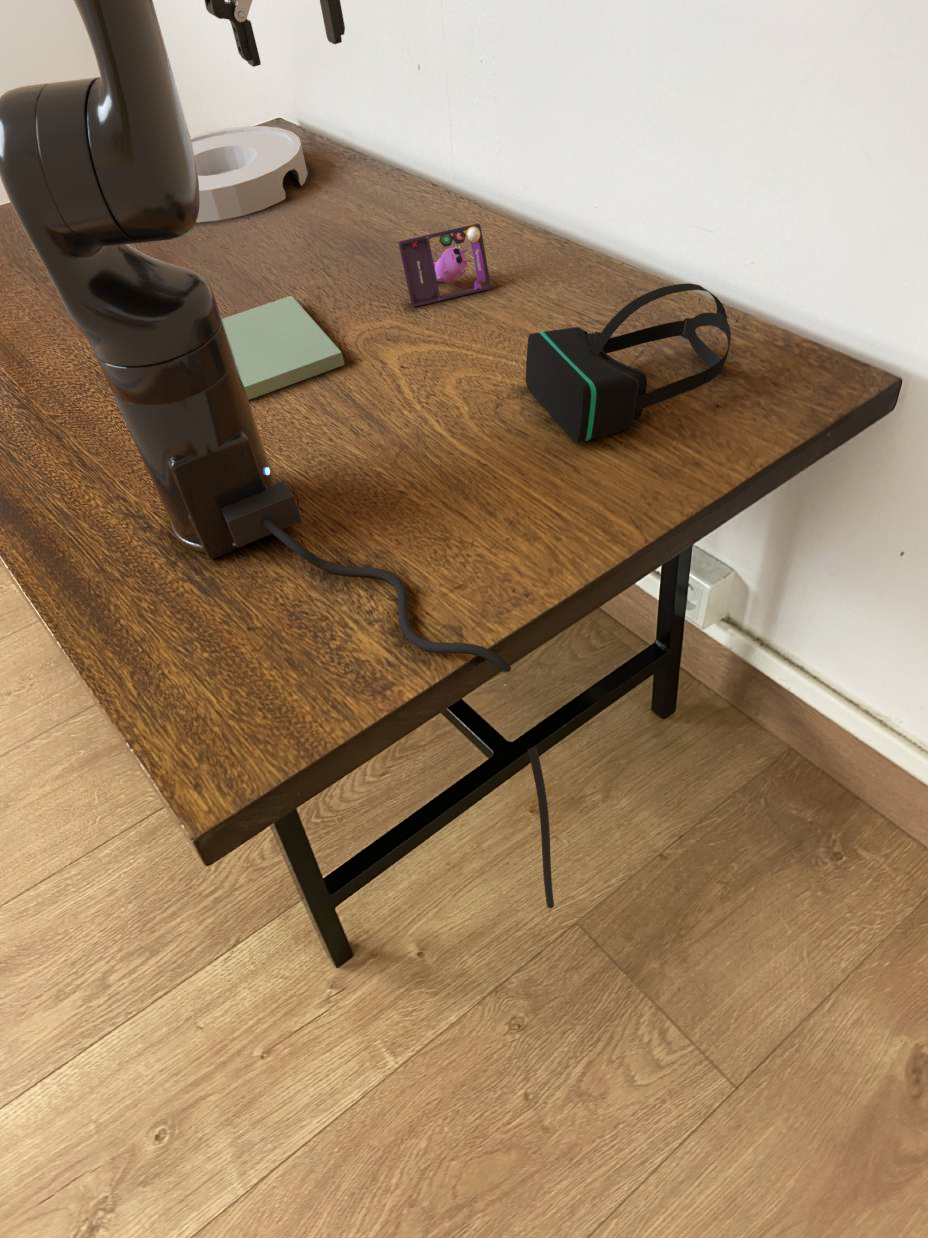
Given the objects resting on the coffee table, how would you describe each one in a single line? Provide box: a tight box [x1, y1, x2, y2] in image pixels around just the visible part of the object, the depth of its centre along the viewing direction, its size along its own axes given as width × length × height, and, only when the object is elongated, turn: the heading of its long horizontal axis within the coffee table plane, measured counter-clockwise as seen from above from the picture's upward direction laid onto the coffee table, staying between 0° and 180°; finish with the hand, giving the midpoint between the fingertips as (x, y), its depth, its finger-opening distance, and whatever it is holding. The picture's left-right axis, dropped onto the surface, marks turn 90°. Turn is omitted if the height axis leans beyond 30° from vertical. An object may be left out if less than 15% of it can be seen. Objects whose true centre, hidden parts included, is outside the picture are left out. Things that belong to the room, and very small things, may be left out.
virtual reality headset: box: [525, 282, 732, 444], centre depth 80 cm, size 11×17×10 cm, turn 112°
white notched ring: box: [190, 125, 309, 223], centre depth 127 cm, size 23×23×4 cm
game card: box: [398, 223, 492, 308], centre depth 99 cm, size 7×5×9 cm
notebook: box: [222, 295, 345, 401], centre depth 95 cm, size 15×11×2 cm
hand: (295, 52), depth 88 cm, fingers open, 8 cm apart
